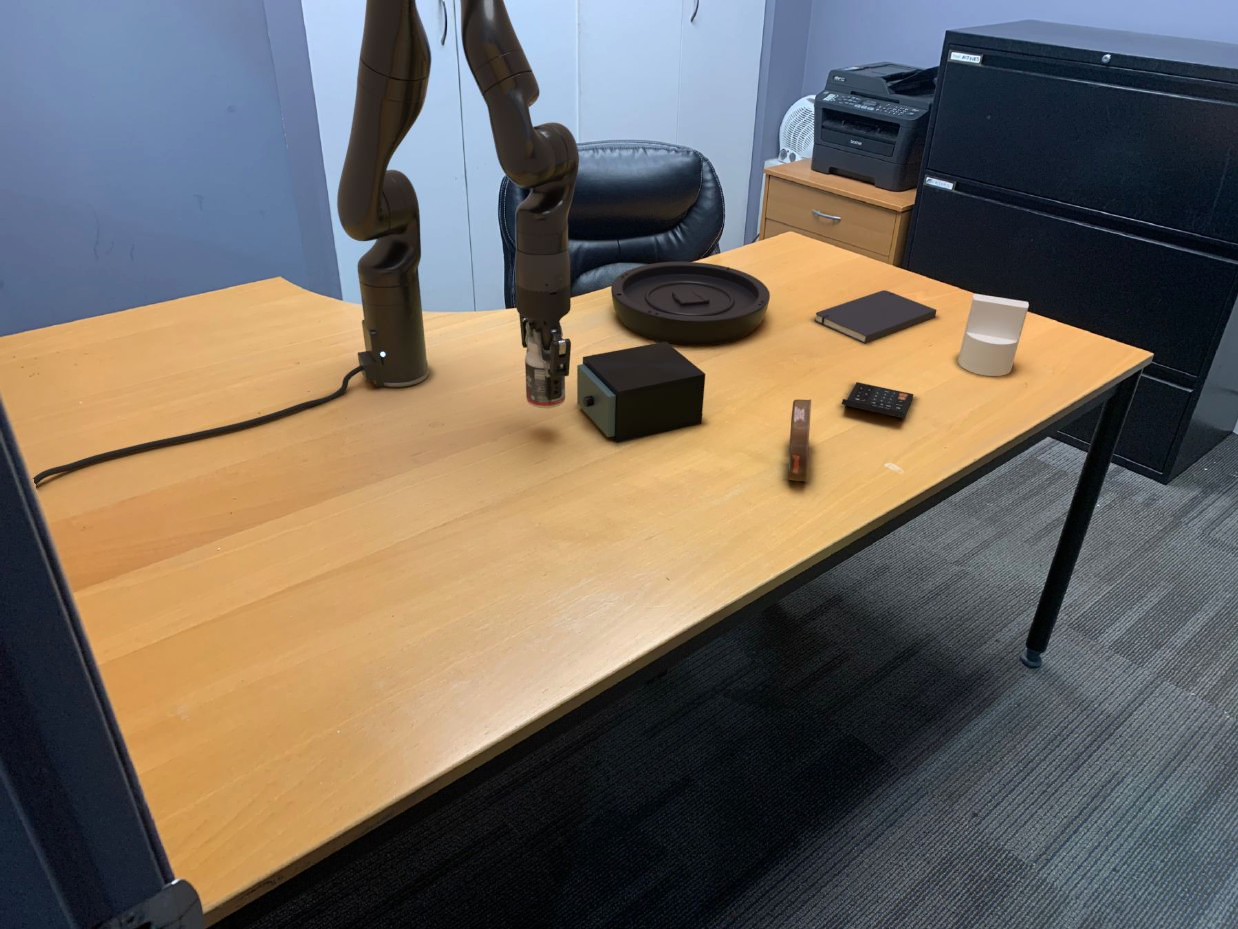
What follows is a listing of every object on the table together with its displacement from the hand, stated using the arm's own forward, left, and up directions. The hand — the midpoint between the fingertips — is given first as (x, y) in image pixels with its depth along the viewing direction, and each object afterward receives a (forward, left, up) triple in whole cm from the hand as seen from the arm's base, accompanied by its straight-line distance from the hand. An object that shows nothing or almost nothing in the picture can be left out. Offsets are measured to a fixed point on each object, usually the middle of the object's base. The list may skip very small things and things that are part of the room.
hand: (545, 388), depth 136 cm
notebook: (+75, +16, -8) cm, 77 cm away
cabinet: (+16, 0, -8) cm, 18 cm away
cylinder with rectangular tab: (+80, -8, -8) cm, 81 cm away
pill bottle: (0, 0, -2) cm, 2 cm away
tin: (+30, -22, -8) cm, 38 cm away
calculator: (+52, -13, -8) cm, 54 cm away
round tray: (+42, +31, -8) cm, 53 cm away
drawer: (+14, 0, -7) cm, 15 cm away
